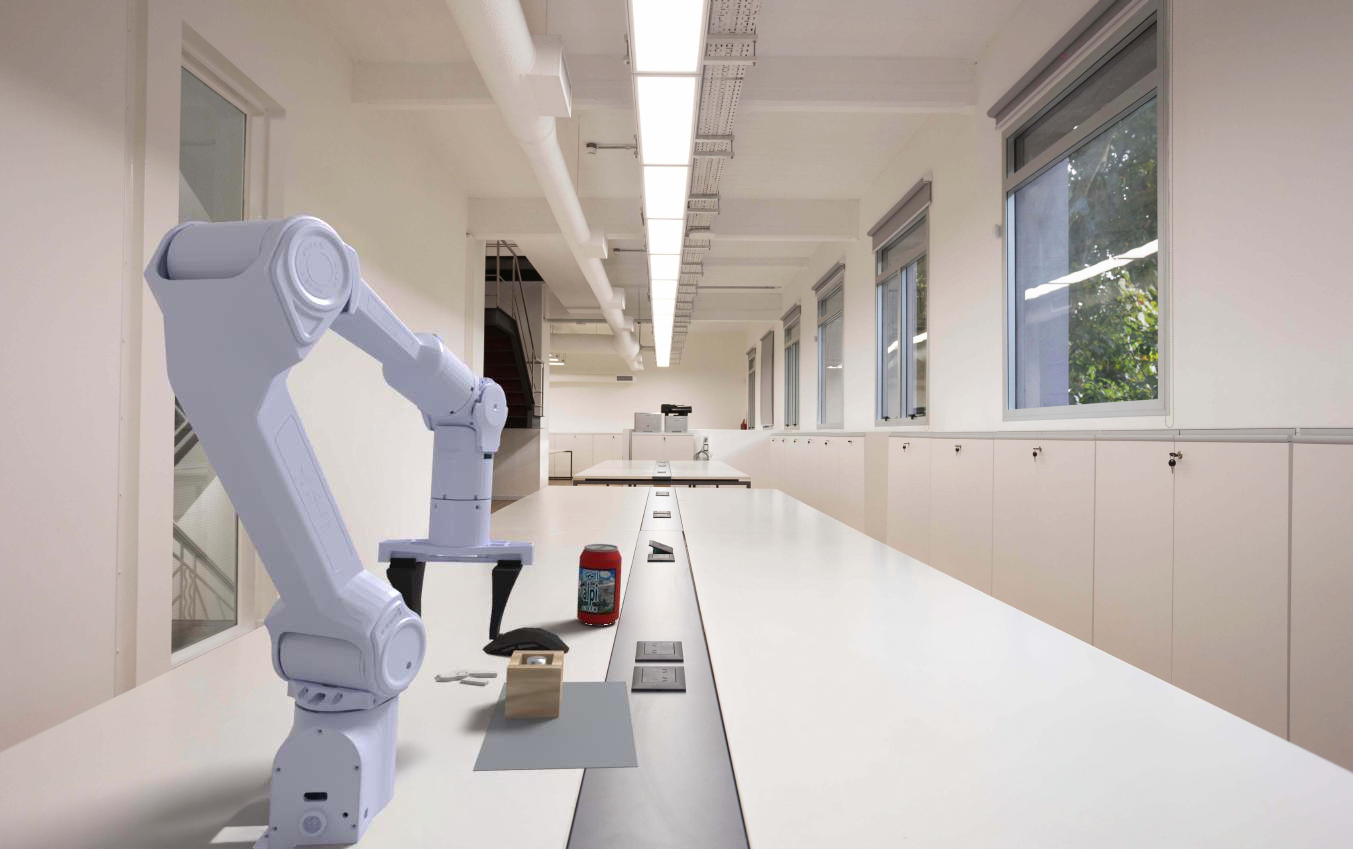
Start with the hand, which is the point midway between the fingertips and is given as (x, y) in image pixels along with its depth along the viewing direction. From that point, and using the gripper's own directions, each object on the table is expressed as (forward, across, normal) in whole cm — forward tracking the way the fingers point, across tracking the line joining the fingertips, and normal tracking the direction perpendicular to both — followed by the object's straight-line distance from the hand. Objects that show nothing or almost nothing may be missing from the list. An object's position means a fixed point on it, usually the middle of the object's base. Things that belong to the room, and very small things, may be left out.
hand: (454, 636), depth 64 cm
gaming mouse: (+10, -3, -23) cm, 25 cm away
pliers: (+10, +5, -14) cm, 18 cm away
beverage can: (+9, -14, -39) cm, 43 cm away
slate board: (+9, -11, -1) cm, 14 cm away
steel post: (+8, -8, -4) cm, 12 cm away
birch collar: (+8, -8, -4) cm, 12 cm away
